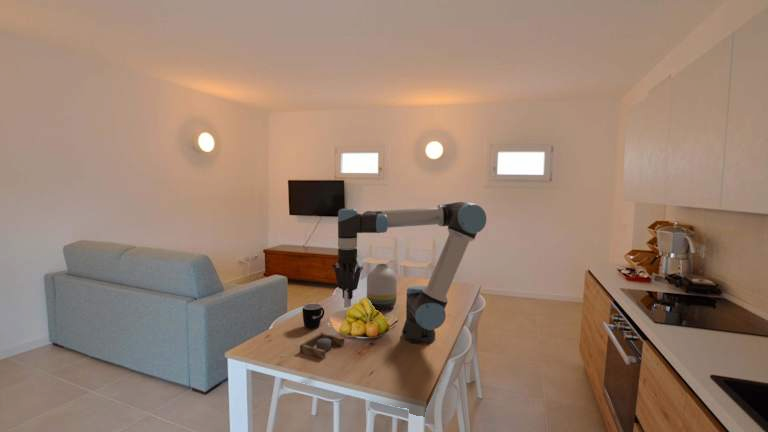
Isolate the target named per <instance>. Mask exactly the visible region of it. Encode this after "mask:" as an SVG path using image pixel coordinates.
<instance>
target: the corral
mask: <svg viewBox="0 0 768 432" xmlns="http://www.w3.org/2000/svg"><path fill="white" fill-rule="evenodd" d="M321 338H328V339H330V340H331V345H336V346H340V347H344V346H345V338H344V337H341V336H337V335H333V334H328V333H324V332H320V333H319V334H317V335H315V336H314V337H311V338H310V339H308V340H307V341H305V342H304V343H302V344H300V345H299V353H300V354H301V353H302V354H304V355H308V356H311V357H315V358H318V359H322V360H325V359H326V354H327V352H326V351H325V350H322V349H318V348H316V347H315V346H316V341H317V340H318V339H321Z"/></svg>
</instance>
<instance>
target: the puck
mask: <svg viewBox="0 0 768 432" xmlns="http://www.w3.org/2000/svg"><path fill="white" fill-rule="evenodd" d="M315 346H316V347H315V348H318V349H322V350H325V351H326V353H328V352H330V351H331V350H332V343H331V340H330V339H328V338H321V339H318V340H317V341H316V345H315Z"/></svg>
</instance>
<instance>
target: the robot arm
mask: <svg viewBox="0 0 768 432" xmlns="http://www.w3.org/2000/svg"><path fill="white" fill-rule="evenodd" d="M337 213H338V214H337V248H338V249H337V258H338V260H337V262H336V263H333V264H332V268H333V270H334V273H335V279H336V283H337V288H338V289H341V291H342V299H343V301H344V302H343V305H344V306H343V308H345V309H346V308H347V309H348V308H350V307H351V306H352V299H353V297H354V295H353V293H354V292H353V291H355V290H357V289H358V287H359V282H360V281H359V280H360V277H361V273H362V271H363V269H364V268H363V266H360V265H359V264H358V263H359V262H358V260H357V258H358V248H357V247H358V234H363V233H364V234H365V233H366V234H368V233H369V234H375V233H376V234H381V233H383V234H384V233H387V232H388V228H389V229H390V228H403V227H419V226H420V227H421V226H432V225H436V226H437V225H438V226H439V227H447V231H448V236H447V238H446V241H445V243H444V246H443V248H442V250H441V252H440V254H439V258H438V260H437V262H436V264H435V267H434V270H433V271H432V274H431V276H430V279H429V281H428V283H427V286H426V285H425V286H424V285H413V286H409V287H408V288H406V294H405V295H406V305H405V306H406V309H405V310H406V311H405V312H406V313H405V319H406V320H405V321H404V325H403V327H402V330H401V338H402V340H404V341H406V342H407V343H411V344H417V345H419V344H420V345H422V344H429V343H432V342H433V341H435V340H436V331H435V330H436V329H439V328H440V327H441V326H442V325H443V324H444V322H445V320H446V316H447V315H446V307H447V304H448V302H449V300H448V298H447V295H448V292H449V290H450V289H451V288H450V287H451V285H452V283H453V280H454V278H455V275H456V273H457V271H458V269H459V266H460V265H461V262H462V259H463V258H464V255H465V252H466V250H467V247H468V245H469V243H470V242H473V241H475V239H476V237H477V234H478V233H479V232H482V230H484V228H485V226H486V225H487V214H486V211H485V210H484V209H483V207H481V206H480V205H479V204H477V203H473V202H464V201H458V202H452V203H446V204H438V205H437V206H436V207H423V208H422V207H421V208H419V207H418V208H407V209H406V208H405V209H391V210H390V209H389V210H374V211H373V210H372V211H371V210H367V211H364V212H363V213H359V212H358V210H357V209H356V208H340V209H339V210H338V212H337Z"/></svg>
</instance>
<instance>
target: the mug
mask: <svg viewBox="0 0 768 432" xmlns="http://www.w3.org/2000/svg"><path fill="white" fill-rule="evenodd" d="M324 315H325V309H324V307H322V304H320V303H313V302H312V303H306V304H304V305H303V306H302V319H303V326H304V327H305V329H307V330H316V329H318V328H319V327H320V324H321V321H322V319H323V318H324Z"/></svg>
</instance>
